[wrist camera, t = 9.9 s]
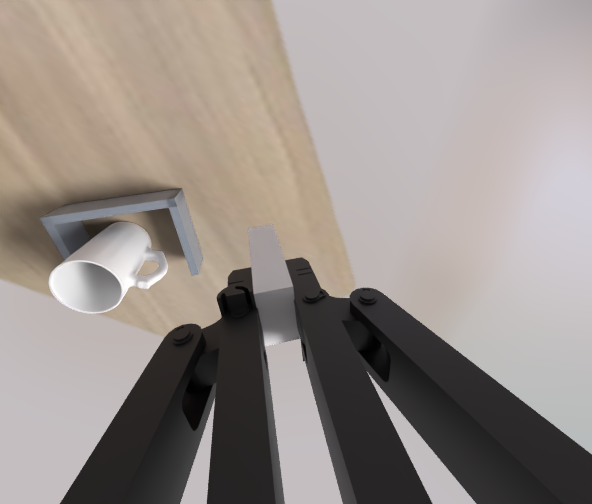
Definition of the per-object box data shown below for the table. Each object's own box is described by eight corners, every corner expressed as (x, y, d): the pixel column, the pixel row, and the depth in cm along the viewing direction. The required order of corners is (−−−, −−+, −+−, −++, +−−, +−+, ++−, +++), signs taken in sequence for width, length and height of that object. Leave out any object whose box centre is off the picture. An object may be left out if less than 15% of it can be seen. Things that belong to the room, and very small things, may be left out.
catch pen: (64, 205, 35) (39, 218, 31) (182, 188, 37) (174, 198, 32) (101, 275, 40) (84, 295, 36) (203, 257, 42) (198, 274, 38)
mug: (102, 259, 39) (53, 311, 29) (99, 215, 36) (43, 256, 26) (176, 266, 42) (156, 316, 31) (178, 226, 39) (156, 267, 29)
